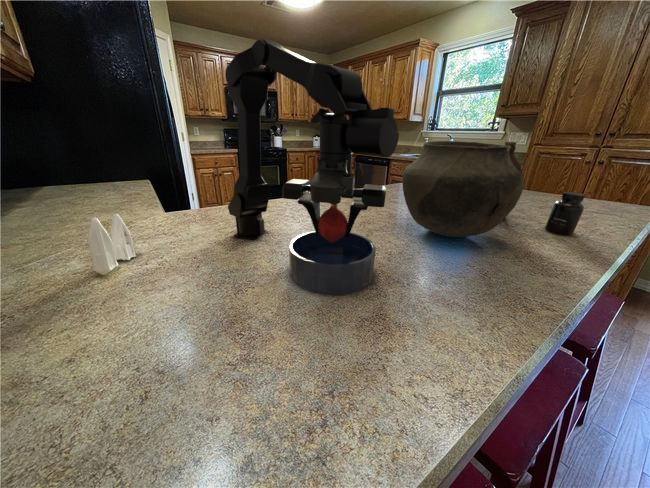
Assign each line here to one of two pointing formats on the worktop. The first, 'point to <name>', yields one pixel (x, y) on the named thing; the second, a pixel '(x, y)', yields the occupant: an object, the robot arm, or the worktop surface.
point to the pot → (461, 187)
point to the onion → (332, 224)
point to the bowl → (331, 263)
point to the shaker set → (109, 244)
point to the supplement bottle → (565, 214)
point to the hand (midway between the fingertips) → (332, 235)
